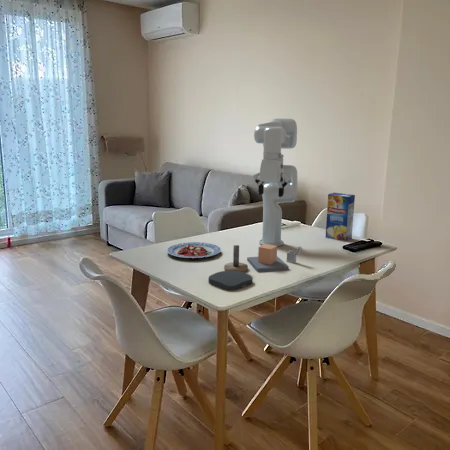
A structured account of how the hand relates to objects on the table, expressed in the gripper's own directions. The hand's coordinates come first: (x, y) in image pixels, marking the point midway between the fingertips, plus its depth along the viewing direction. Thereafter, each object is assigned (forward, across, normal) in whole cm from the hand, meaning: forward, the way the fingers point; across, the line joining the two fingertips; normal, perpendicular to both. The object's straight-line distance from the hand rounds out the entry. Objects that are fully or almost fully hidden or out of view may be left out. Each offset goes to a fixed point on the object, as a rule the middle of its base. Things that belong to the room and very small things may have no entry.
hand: (270, 195), depth 201 cm
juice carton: (+31, -14, -56) cm, 65 cm away
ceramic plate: (+30, +34, +11) cm, 47 cm away
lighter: (+30, -12, -2) cm, 32 cm away
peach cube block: (+28, -3, +7) cm, 29 cm away
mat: (+30, -3, +7) cm, 31 cm away
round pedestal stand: (+30, +6, +20) cm, 36 cm away
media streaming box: (+30, -1, +35) cm, 46 cm away
